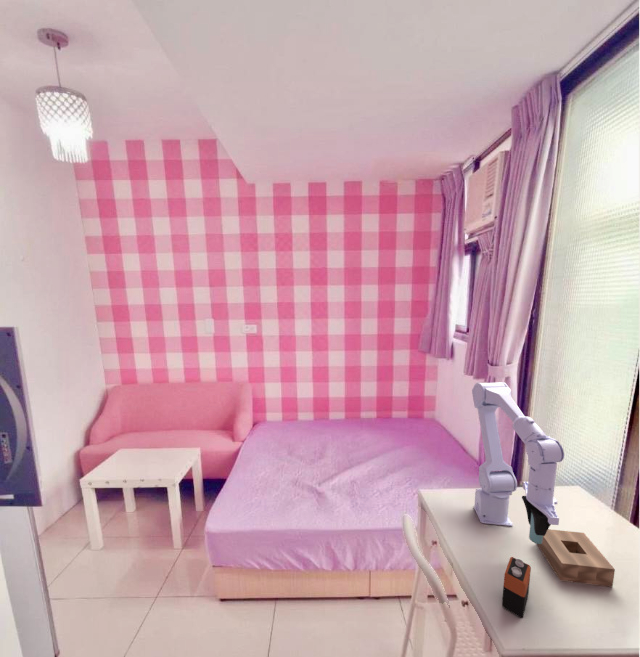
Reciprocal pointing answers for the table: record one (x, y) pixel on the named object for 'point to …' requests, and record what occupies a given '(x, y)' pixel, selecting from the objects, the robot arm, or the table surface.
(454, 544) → the table surface
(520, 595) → the battery
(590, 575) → the socket block
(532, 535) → the teal peg
